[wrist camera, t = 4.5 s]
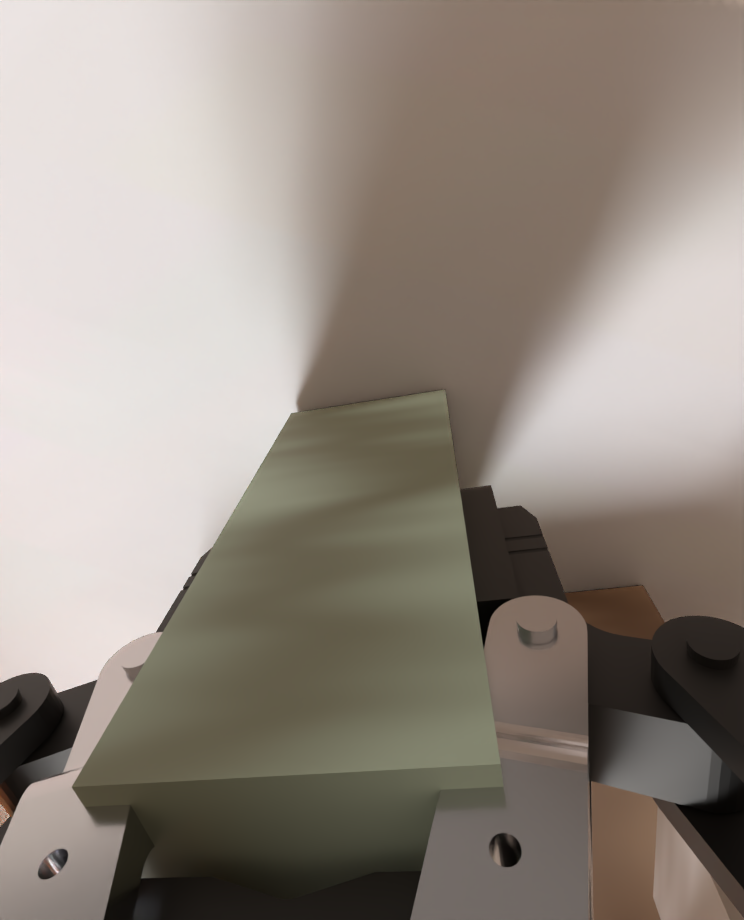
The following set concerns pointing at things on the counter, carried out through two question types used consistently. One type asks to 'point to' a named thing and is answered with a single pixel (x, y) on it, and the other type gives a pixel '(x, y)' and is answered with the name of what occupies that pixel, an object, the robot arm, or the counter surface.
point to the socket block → (641, 812)
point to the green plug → (314, 667)
